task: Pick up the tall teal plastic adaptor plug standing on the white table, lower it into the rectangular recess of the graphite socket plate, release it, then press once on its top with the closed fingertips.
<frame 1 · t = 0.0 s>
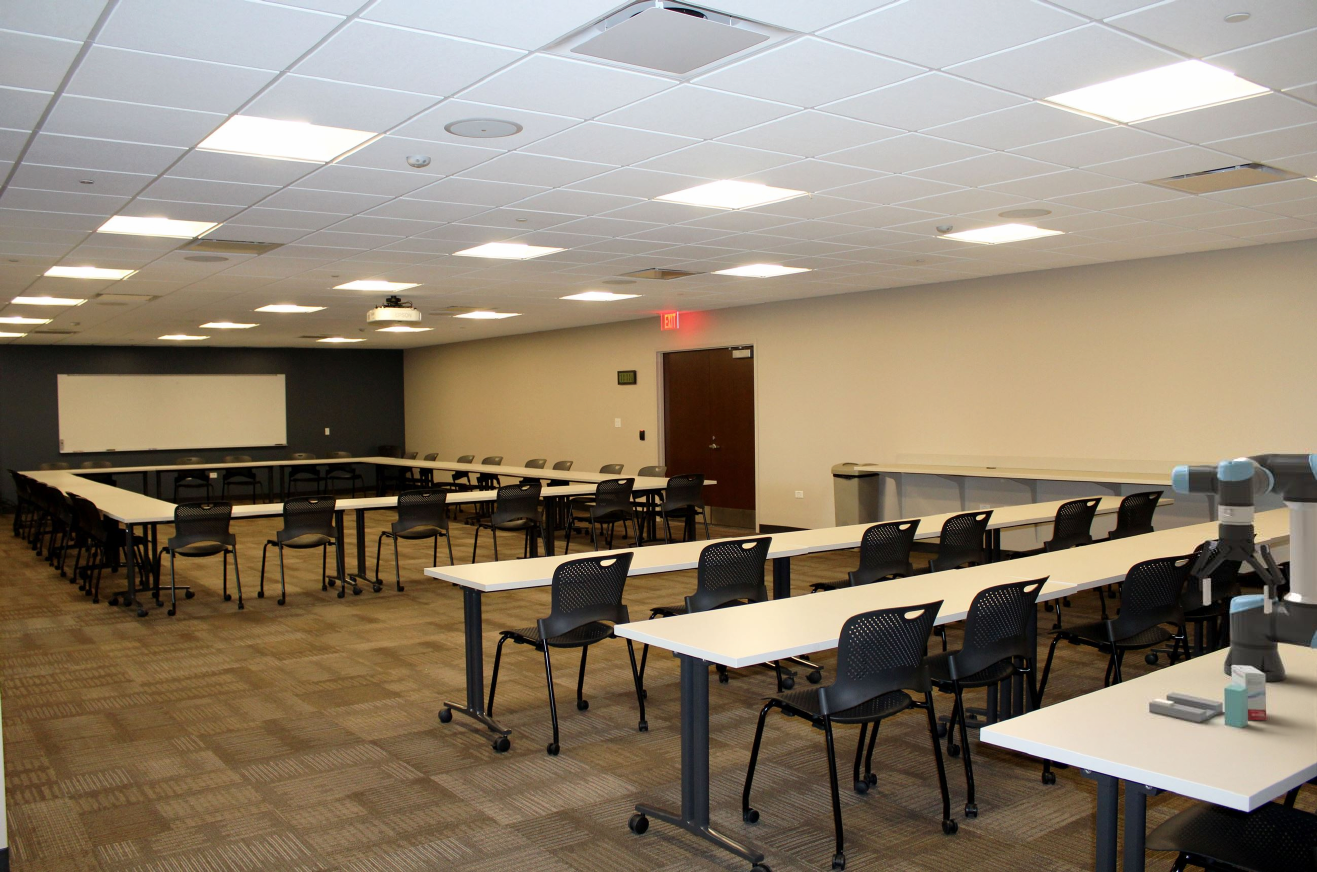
hand: (1236, 608, 229), 28 cm above the table, fingers open, 13 cm apart
socket: (1185, 711, 237), on the table
ink box: (1248, 716, 234), on the table
plug: (1236, 724, 227), on the table
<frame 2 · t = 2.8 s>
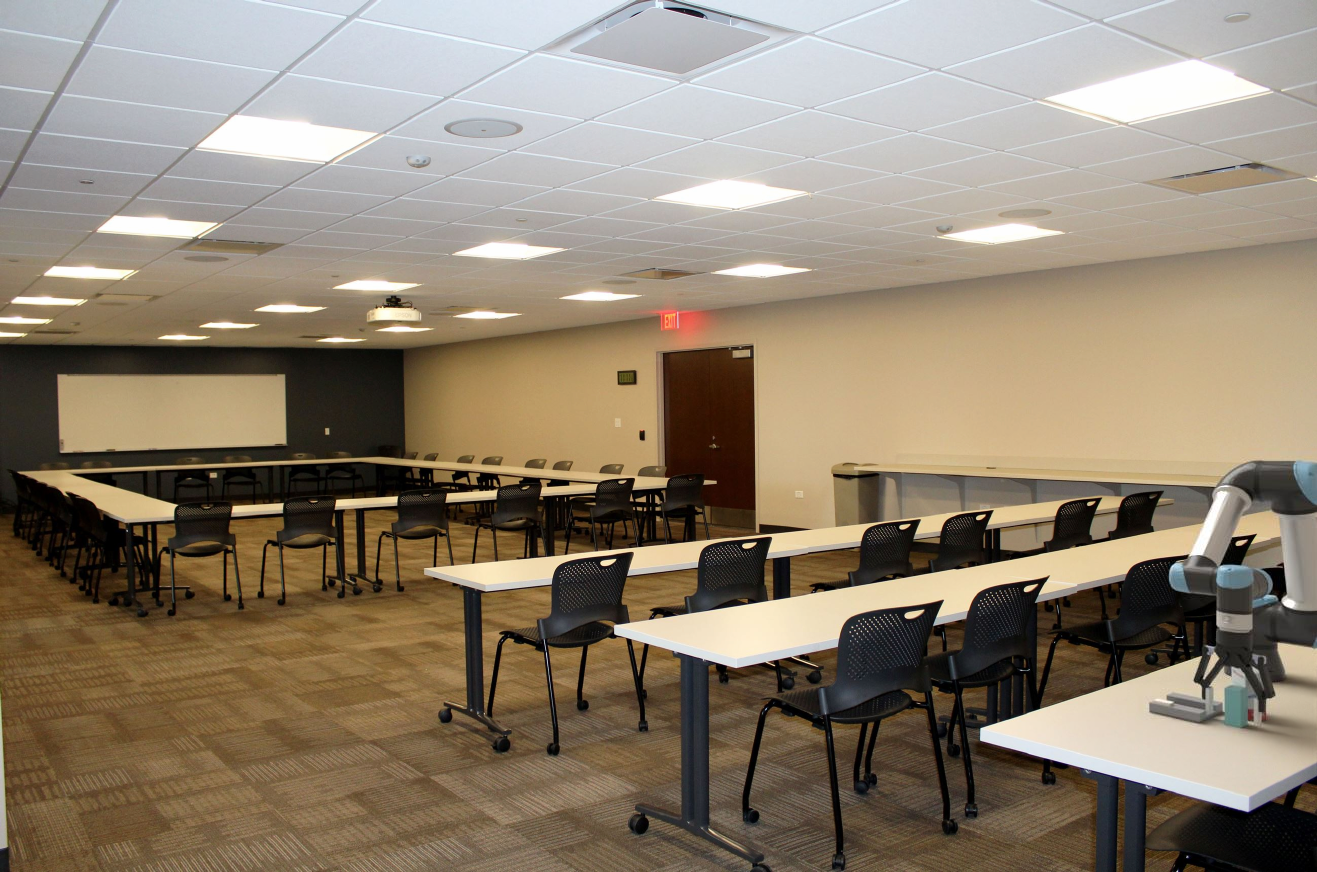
hand: (1233, 718, 228), 1 cm above the table, fingers open, 10 cm apart
nothing on the table moved.
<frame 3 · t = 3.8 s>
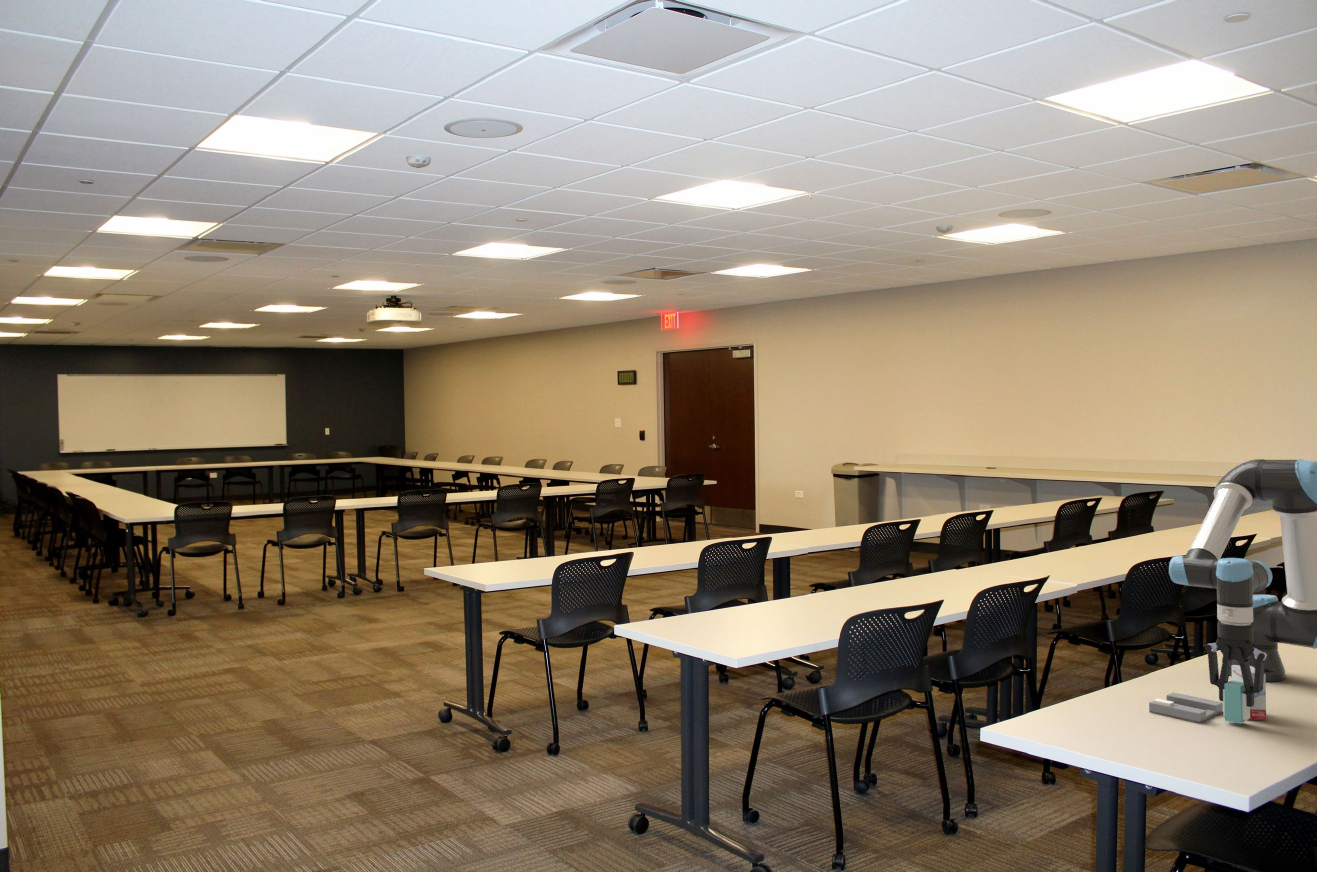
hand: (1236, 716, 228), 2 cm above the table, fingers closed on plug, 3 cm apart
plug: (1236, 719, 228), point 1 cm above the table, touching gripper
everything else where it was.
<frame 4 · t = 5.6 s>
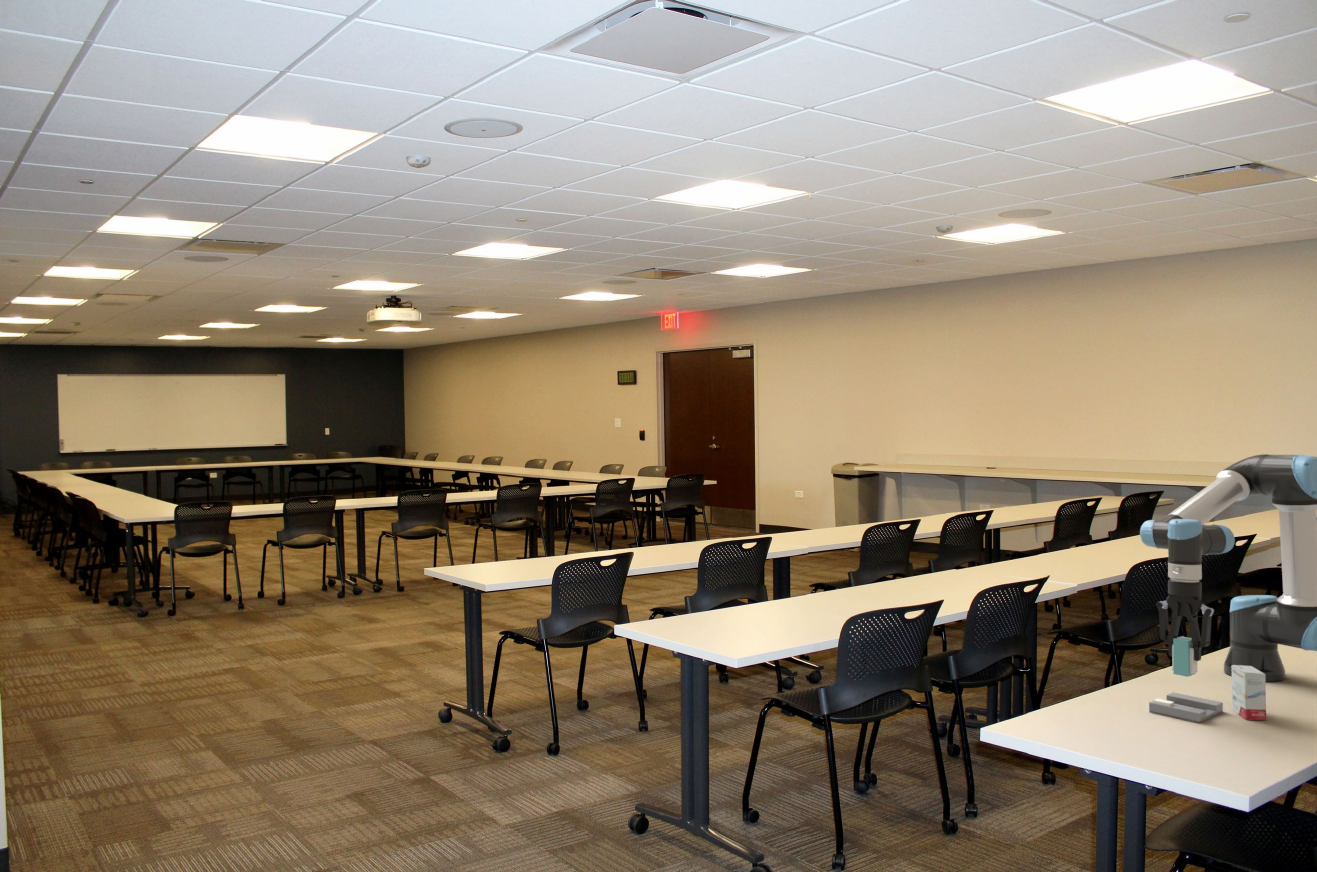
hand: (1184, 670, 237), 11 cm above the table, fingers closed on plug, 3 cm apart
plug: (1184, 673, 237), point 10 cm above the table, touching gripper
everything else where it was.
when the fingers open (1 cm above the table, at t = 7.1 s): plug stays where it is, resting on socket.
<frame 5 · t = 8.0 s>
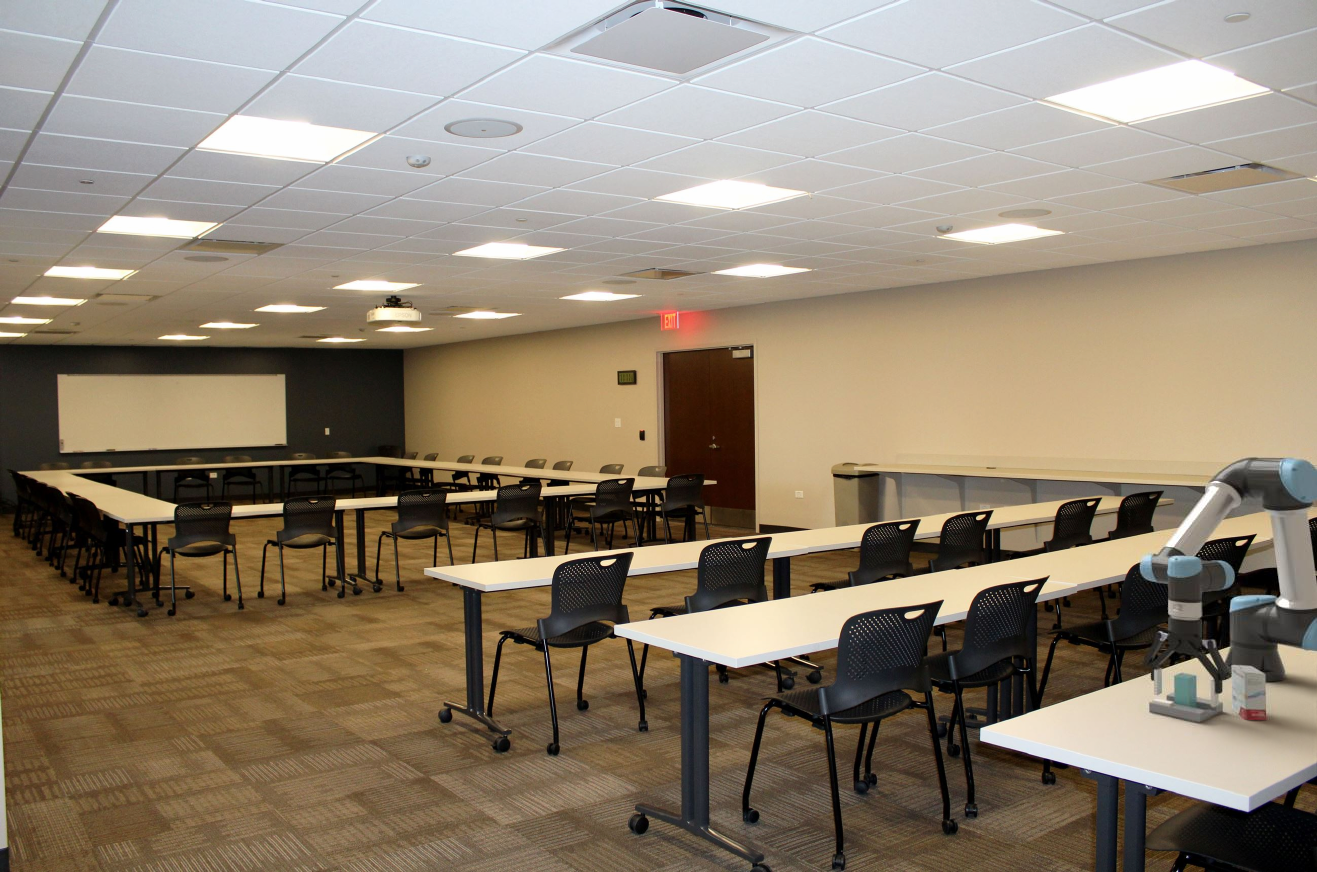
hand: (1185, 699, 237), 3 cm above the table, fingers open, 13 cm apart
plug: (1185, 710, 237), resting on socket
everything else where it was.
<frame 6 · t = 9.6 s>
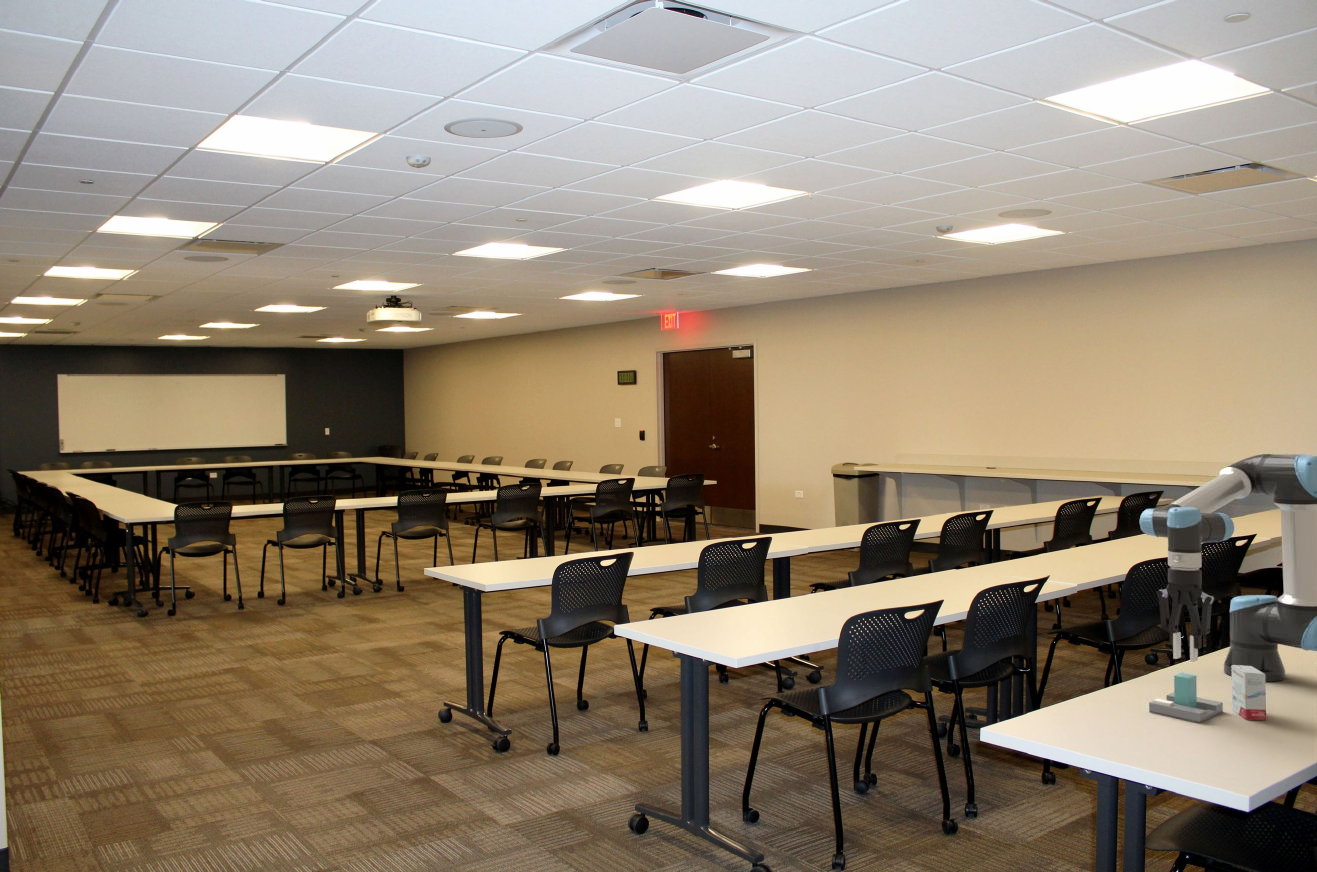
hand: (1185, 659, 237), 14 cm above the table, fingers open, 3 cm apart
nothing on the table moved.
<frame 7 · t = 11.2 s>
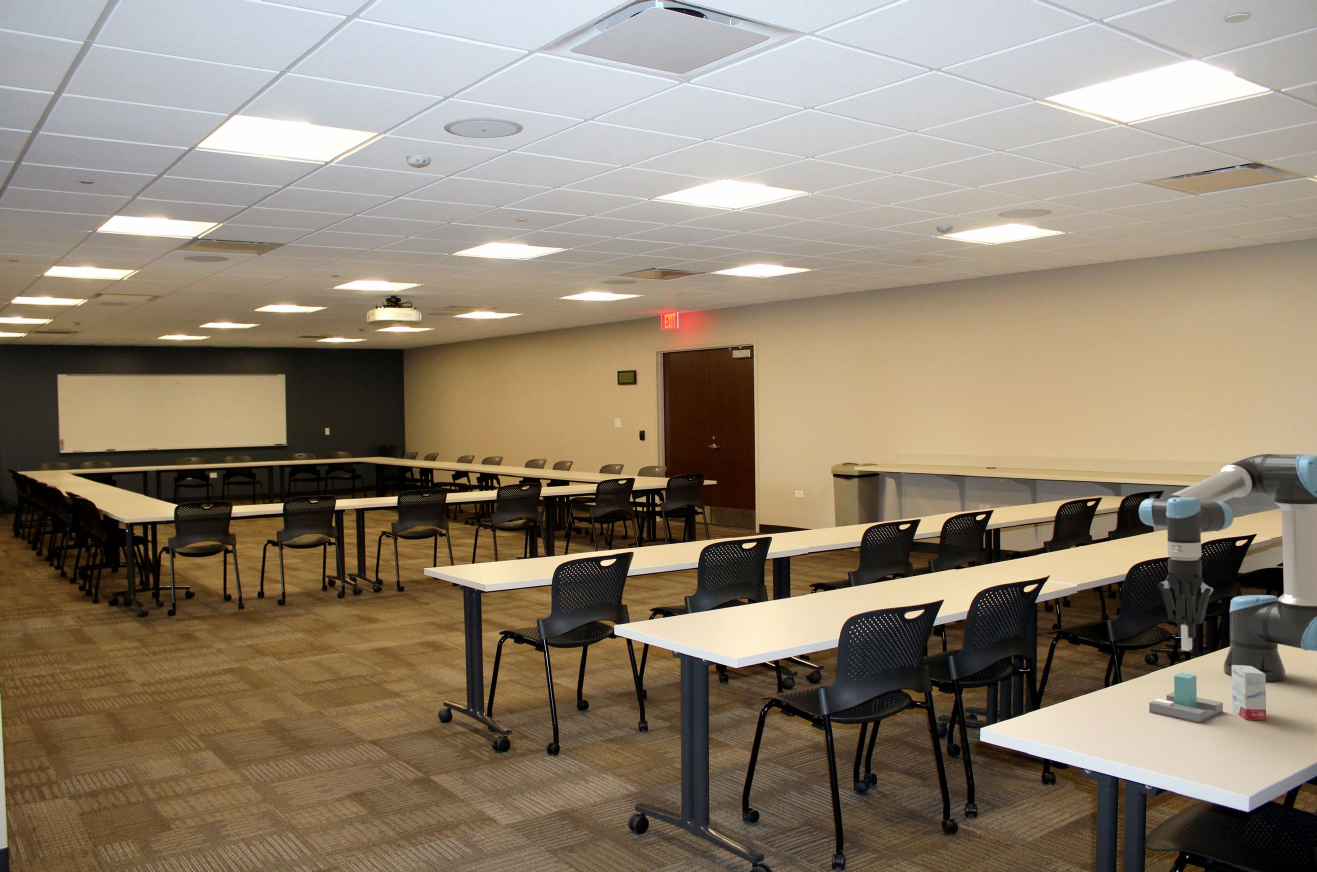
hand: (1186, 649, 237), 16 cm above the table, fingers closed
nothing on the table moved.
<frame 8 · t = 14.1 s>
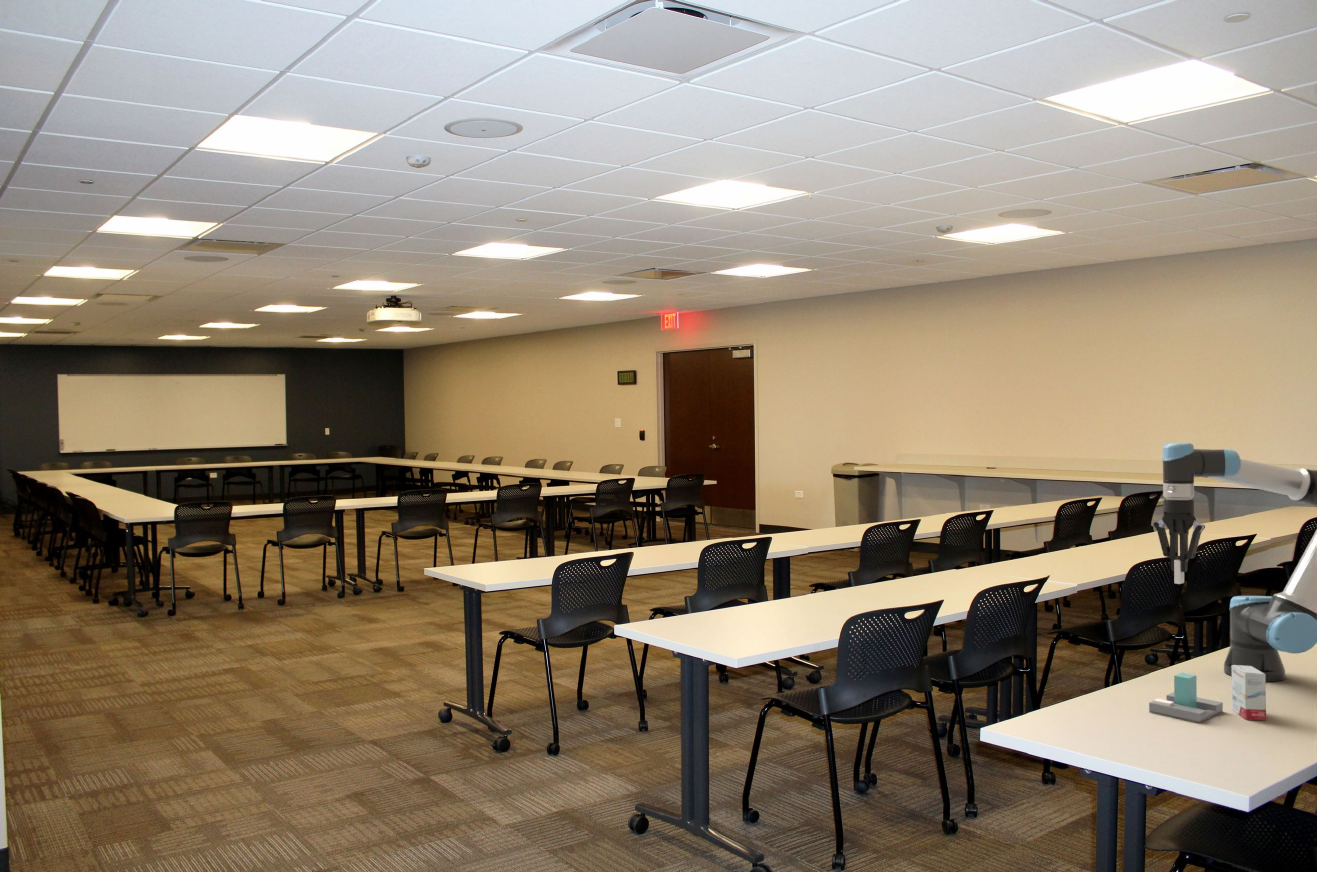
hand: (1179, 582, 258), 29 cm above the table, fingers closed
nothing on the table moved.
at the end: plug 0.2 cm off-centre on the socket, point 0.4 cm above the socket's base; plug tilted 0°; the gripper is holding nothing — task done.
